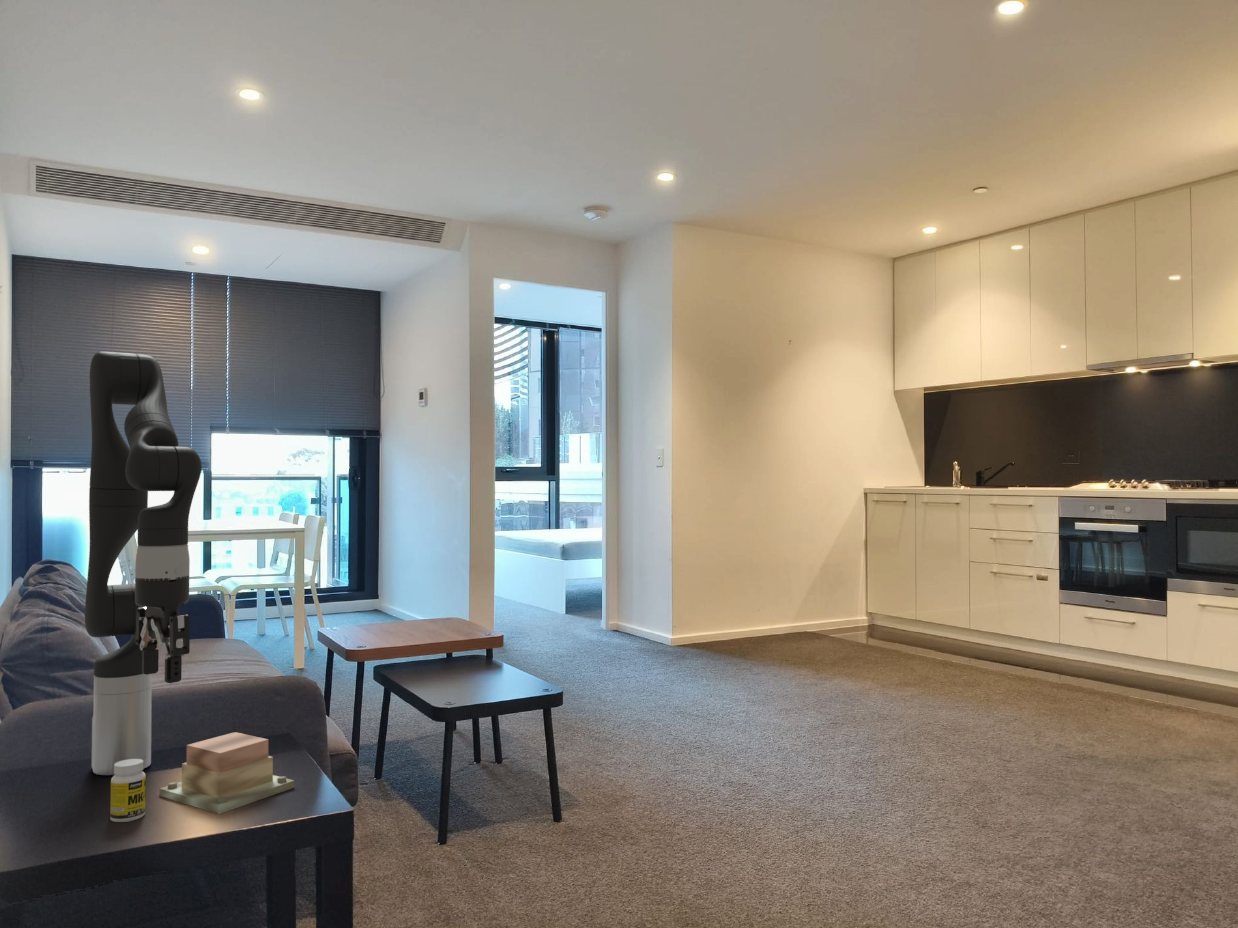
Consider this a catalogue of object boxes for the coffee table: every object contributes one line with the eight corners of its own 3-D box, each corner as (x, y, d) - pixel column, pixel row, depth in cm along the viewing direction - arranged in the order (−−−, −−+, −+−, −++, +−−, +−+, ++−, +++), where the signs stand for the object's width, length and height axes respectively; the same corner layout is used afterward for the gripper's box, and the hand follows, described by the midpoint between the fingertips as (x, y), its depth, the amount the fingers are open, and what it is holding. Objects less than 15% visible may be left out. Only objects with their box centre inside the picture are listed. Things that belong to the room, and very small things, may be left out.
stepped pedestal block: (159, 795, 145) (159, 745, 145) (235, 771, 157) (235, 725, 157) (218, 813, 137) (219, 760, 137) (294, 787, 149) (294, 738, 149)
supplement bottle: (129, 823, 133) (130, 767, 133) (102, 821, 134) (103, 766, 134) (152, 812, 137) (153, 758, 138) (126, 810, 138) (126, 756, 139)
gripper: (119, 572, 139) (117, 674, 139) (156, 579, 130) (154, 689, 130) (168, 568, 145) (167, 667, 144) (207, 575, 135) (206, 680, 135)
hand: (161, 677), depth 137 cm, fingers open, 8 cm apart
